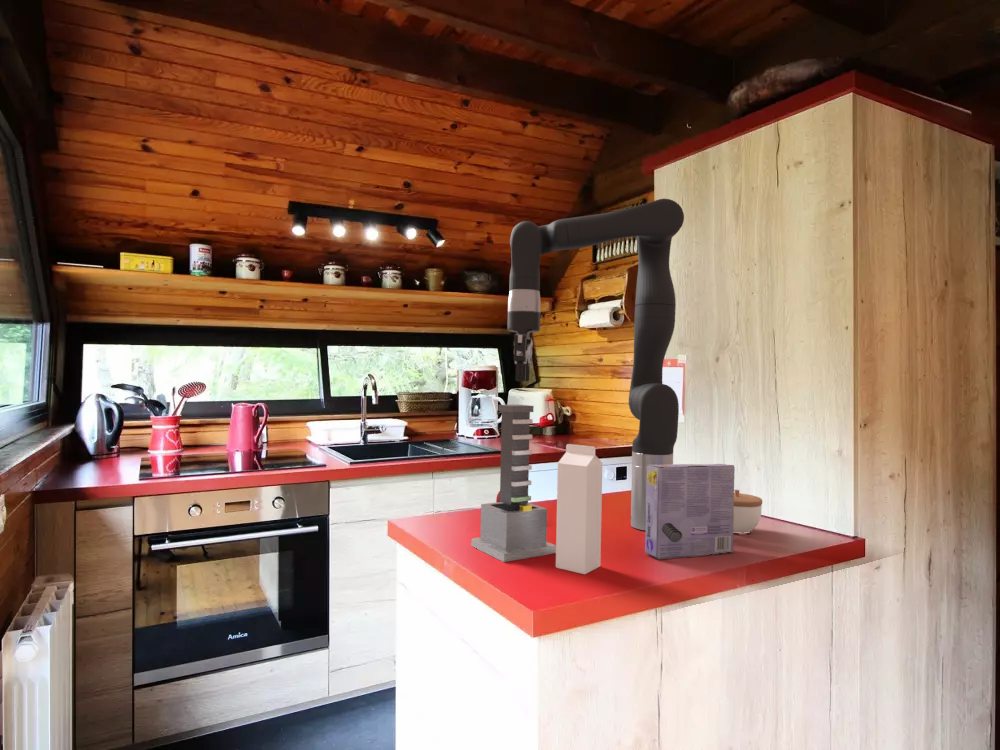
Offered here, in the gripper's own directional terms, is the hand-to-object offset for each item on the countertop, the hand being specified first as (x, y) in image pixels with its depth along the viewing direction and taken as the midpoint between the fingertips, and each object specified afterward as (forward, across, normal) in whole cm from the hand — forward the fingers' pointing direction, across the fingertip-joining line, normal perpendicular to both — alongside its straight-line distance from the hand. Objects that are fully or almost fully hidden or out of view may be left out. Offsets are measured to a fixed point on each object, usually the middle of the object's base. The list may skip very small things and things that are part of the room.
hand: (522, 381), depth 139 cm
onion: (+33, +9, +4) cm, 35 cm away
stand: (+33, -20, -1) cm, 39 cm away
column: (+24, -20, -1) cm, 31 cm away
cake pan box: (+33, -15, -36) cm, 51 cm away
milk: (+33, -28, -14) cm, 46 cm away
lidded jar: (+33, +6, -49) cm, 60 cm away
